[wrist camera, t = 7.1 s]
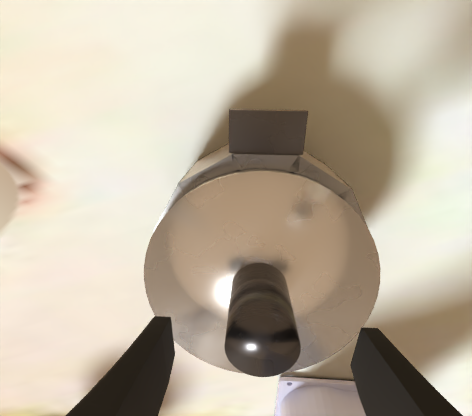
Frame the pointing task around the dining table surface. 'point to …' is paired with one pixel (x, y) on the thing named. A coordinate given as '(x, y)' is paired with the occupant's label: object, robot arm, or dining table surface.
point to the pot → (264, 153)
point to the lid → (262, 272)
